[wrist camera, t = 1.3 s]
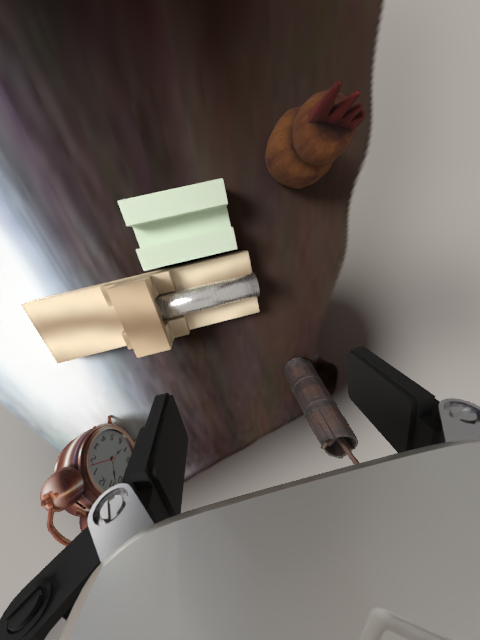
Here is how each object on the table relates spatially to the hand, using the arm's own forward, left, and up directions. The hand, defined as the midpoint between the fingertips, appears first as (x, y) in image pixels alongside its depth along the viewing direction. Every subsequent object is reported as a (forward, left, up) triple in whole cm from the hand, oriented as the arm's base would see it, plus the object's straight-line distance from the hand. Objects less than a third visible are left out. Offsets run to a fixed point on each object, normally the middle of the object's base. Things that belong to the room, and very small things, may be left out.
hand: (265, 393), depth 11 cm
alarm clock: (+19, -24, -22) cm, 38 cm away
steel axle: (-1, -4, -20) cm, 20 cm away
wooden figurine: (-14, +11, -22) cm, 28 cm away
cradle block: (-9, -3, -22) cm, 24 cm away
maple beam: (-1, -10, -22) cm, 24 cm away
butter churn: (+16, +8, -22) cm, 29 cm away
